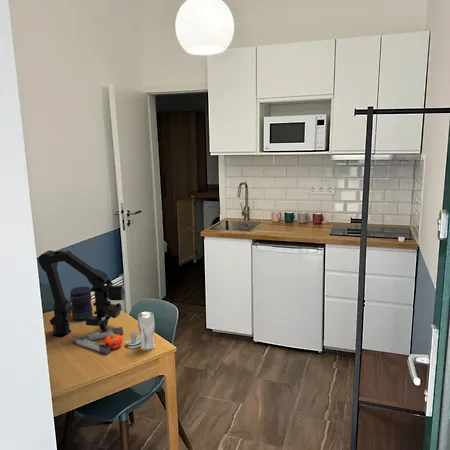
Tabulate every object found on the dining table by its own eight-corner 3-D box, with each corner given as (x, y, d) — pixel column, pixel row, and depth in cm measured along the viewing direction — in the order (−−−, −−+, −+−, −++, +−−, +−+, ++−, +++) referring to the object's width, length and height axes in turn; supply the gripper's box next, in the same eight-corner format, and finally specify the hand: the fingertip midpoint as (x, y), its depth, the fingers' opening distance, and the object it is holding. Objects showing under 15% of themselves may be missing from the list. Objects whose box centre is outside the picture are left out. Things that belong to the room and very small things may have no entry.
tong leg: (79, 342, 183) (79, 336, 183) (79, 340, 185) (78, 334, 185) (123, 334, 191) (122, 328, 190) (122, 332, 192) (122, 326, 192)
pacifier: (144, 346, 179) (141, 340, 184) (144, 333, 178) (140, 327, 183) (127, 351, 176) (124, 344, 181) (127, 337, 174) (123, 331, 180)
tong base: (72, 342, 183) (71, 336, 183) (75, 341, 185) (75, 335, 184) (106, 355, 172) (106, 348, 172) (110, 352, 174) (110, 346, 173)
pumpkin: (125, 348, 179) (125, 335, 177) (107, 353, 175) (106, 340, 173) (119, 340, 185) (118, 327, 183) (101, 345, 180) (100, 332, 178)
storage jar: (88, 312, 217) (85, 285, 214) (96, 317, 210) (94, 289, 207) (69, 317, 210) (66, 289, 207) (77, 323, 203) (74, 294, 200)
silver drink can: (152, 351, 174) (150, 318, 171) (136, 350, 175) (134, 317, 172) (158, 344, 181) (156, 311, 178) (143, 342, 182) (141, 310, 179)
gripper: (106, 309, 177) (108, 343, 180) (127, 294, 195) (129, 325, 198) (83, 307, 180) (86, 340, 183) (106, 292, 198) (109, 322, 201)
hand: (104, 331), depth 191 cm, fingers closed
